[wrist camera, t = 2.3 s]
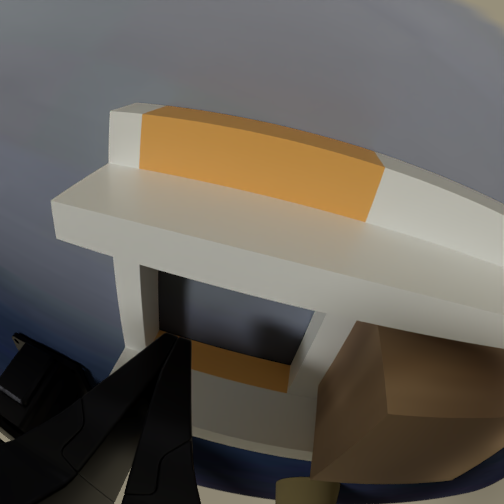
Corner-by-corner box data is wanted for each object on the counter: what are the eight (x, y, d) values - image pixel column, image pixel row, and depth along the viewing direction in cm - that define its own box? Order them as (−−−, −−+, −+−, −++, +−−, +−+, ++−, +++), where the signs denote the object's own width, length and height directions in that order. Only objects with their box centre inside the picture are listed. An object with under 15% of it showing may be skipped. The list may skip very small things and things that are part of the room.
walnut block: (318, 385, 12) (309, 479, 8) (372, 291, 9) (387, 413, 5) (440, 401, 11) (451, 480, 8) (508, 324, 8) (545, 414, 5)
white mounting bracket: (142, 355, 15) (111, 418, 12) (137, 102, 8) (45, 135, 5) (493, 415, 14) (504, 466, 11) (612, 270, 7) (649, 322, 4)
